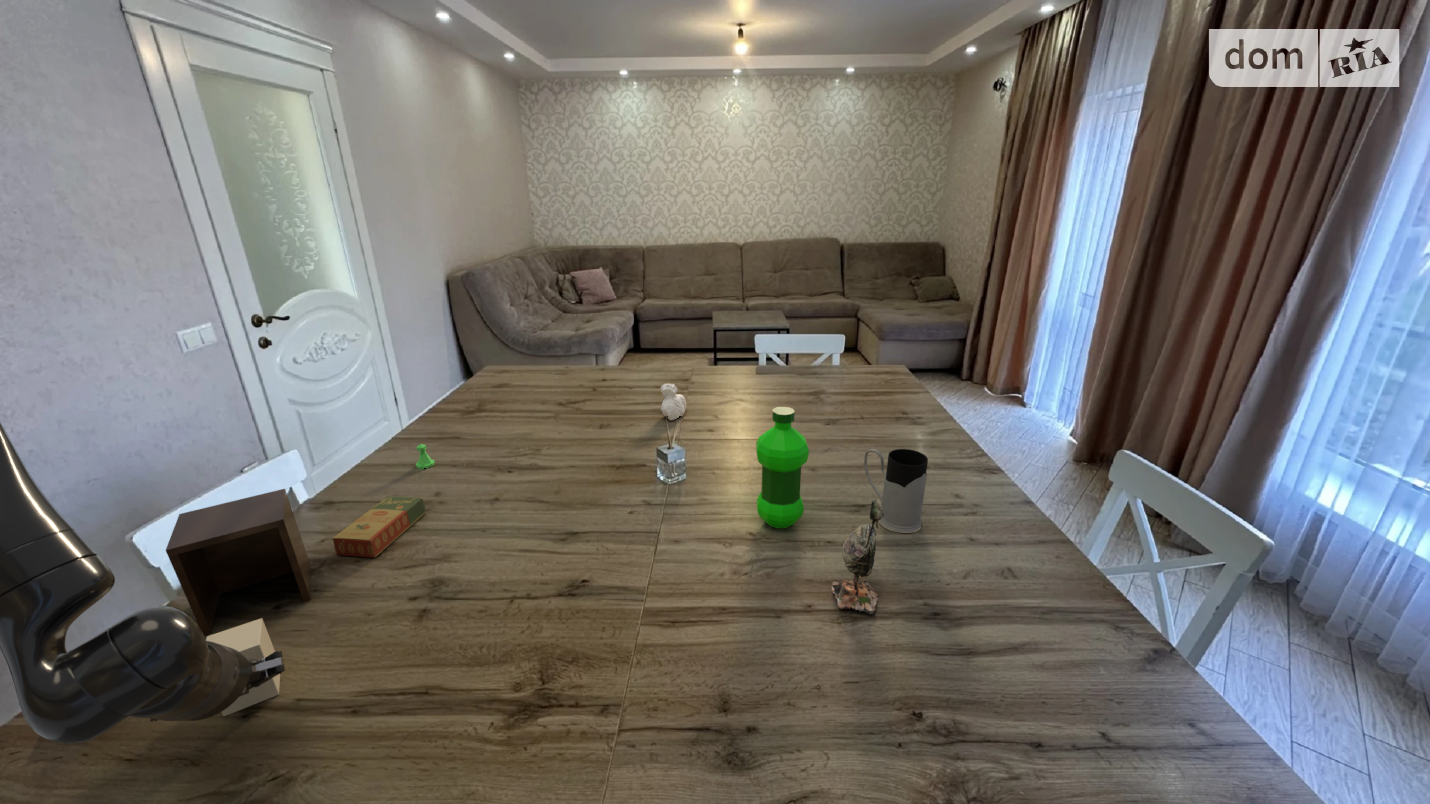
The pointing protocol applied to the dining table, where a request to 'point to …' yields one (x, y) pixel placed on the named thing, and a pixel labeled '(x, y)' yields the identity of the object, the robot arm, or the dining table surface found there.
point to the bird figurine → (859, 565)
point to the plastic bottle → (781, 470)
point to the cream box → (253, 646)
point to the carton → (379, 526)
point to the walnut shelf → (236, 550)
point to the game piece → (423, 458)
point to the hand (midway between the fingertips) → (241, 687)
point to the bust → (672, 402)
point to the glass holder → (902, 488)
